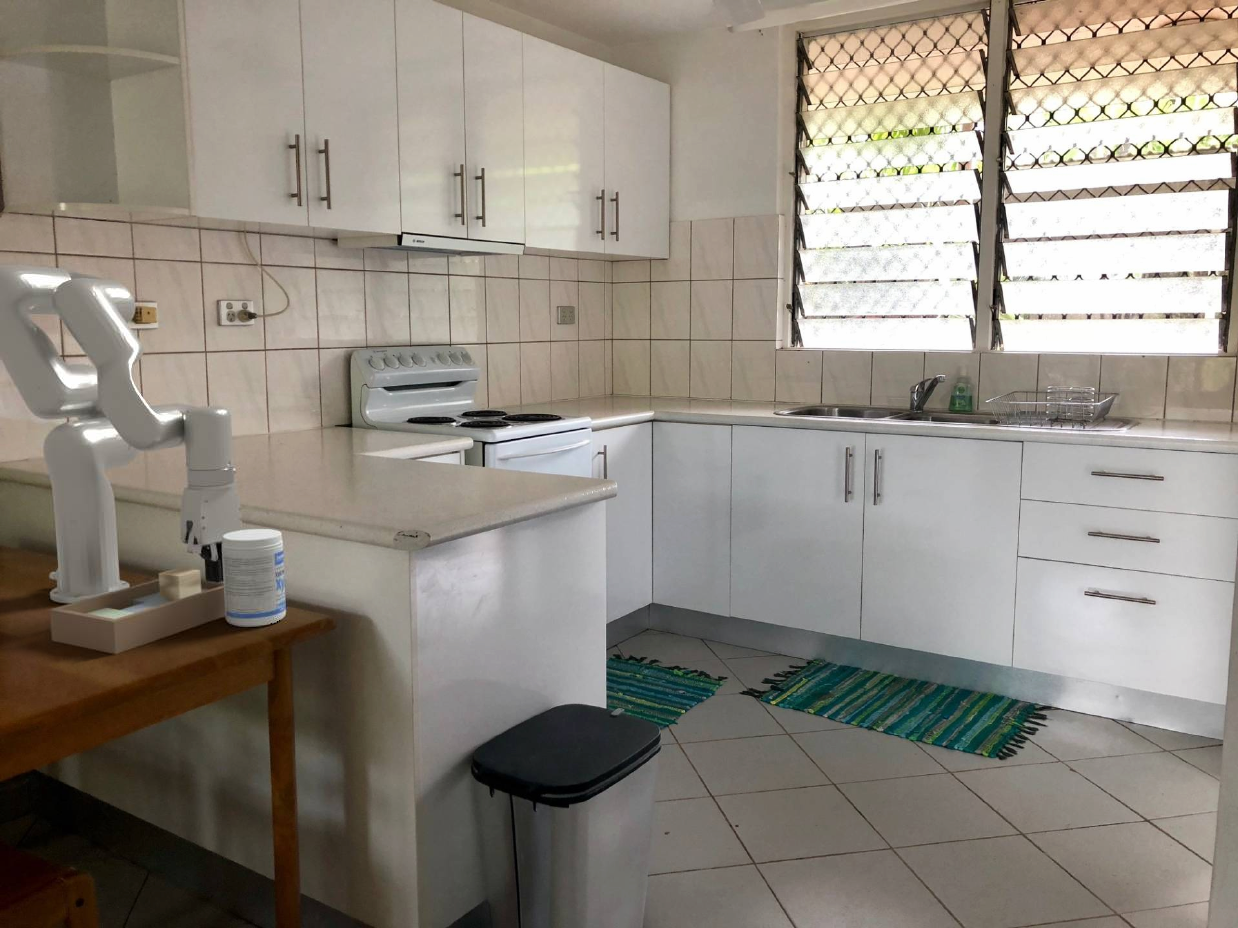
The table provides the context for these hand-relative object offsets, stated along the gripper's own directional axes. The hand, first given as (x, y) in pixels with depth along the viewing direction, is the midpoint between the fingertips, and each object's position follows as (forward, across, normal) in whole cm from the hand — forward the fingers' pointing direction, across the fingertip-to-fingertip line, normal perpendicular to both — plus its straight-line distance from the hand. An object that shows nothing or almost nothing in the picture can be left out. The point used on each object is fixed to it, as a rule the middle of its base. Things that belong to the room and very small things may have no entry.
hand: (216, 580), depth 170 cm
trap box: (+4, +14, 0) cm, 15 cm away
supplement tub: (+4, +4, +13) cm, 14 cm away
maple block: (+1, +8, 0) cm, 8 cm away
